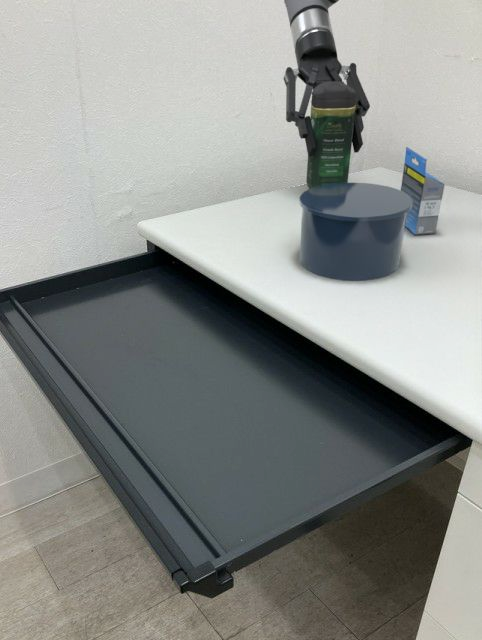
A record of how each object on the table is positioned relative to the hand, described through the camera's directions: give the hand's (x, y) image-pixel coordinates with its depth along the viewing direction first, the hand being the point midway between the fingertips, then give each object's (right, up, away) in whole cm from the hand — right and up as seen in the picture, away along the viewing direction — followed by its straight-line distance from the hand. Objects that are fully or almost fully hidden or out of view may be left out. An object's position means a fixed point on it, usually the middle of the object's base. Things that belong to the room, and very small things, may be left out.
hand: (335, 150), depth 109 cm
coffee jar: (0, -5, +7) cm, 9 cm away
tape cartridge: (+12, -16, -6) cm, 21 cm away
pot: (-2, -24, -17) cm, 29 cm away
